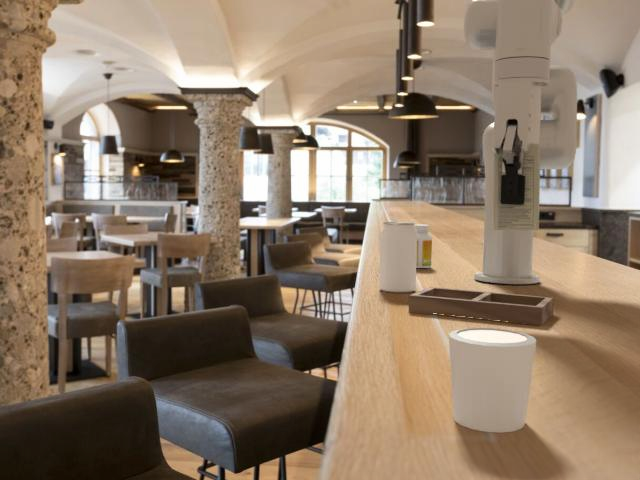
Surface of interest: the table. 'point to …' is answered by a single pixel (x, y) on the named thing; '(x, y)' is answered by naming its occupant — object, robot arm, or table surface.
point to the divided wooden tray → (482, 305)
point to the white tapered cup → (491, 378)
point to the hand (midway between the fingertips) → (516, 202)
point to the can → (398, 257)
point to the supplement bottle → (423, 246)
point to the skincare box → (529, 211)
